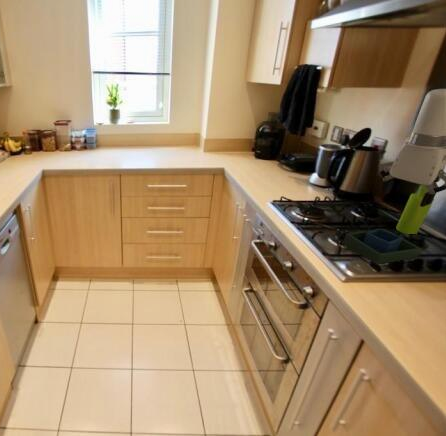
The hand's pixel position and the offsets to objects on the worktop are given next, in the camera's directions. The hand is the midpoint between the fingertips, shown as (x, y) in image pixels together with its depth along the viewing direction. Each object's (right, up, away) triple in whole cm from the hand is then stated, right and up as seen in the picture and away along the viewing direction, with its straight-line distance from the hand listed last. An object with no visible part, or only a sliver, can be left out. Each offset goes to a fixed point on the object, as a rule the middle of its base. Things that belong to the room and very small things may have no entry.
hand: (403, 199), depth 91 cm
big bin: (0, -16, +9) cm, 19 cm away
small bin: (0, -16, +9) cm, 18 cm away
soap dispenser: (+19, -10, +21) cm, 30 cm away
